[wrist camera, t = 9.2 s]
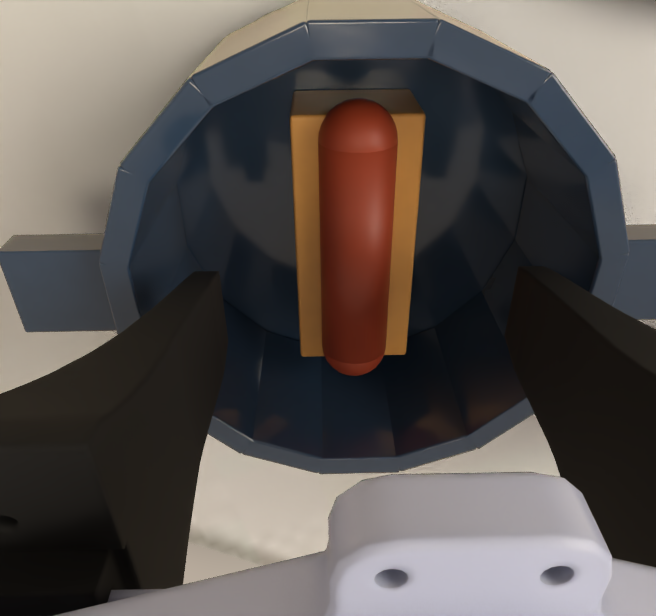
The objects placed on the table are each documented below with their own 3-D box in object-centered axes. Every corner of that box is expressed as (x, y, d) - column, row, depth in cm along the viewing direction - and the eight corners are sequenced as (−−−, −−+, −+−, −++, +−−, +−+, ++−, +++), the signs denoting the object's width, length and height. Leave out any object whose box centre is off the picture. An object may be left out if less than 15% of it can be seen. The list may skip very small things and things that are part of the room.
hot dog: (292, 75, 16) (286, 110, 13) (411, 73, 16) (436, 107, 13) (302, 318, 21) (300, 390, 17) (395, 316, 21) (410, 388, 17)
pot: (25, -4, 15) (-116, 25, 10) (678, -12, 15) (853, 12, 10) (122, 357, 22) (65, 480, 17) (574, 348, 22) (649, 467, 17)
